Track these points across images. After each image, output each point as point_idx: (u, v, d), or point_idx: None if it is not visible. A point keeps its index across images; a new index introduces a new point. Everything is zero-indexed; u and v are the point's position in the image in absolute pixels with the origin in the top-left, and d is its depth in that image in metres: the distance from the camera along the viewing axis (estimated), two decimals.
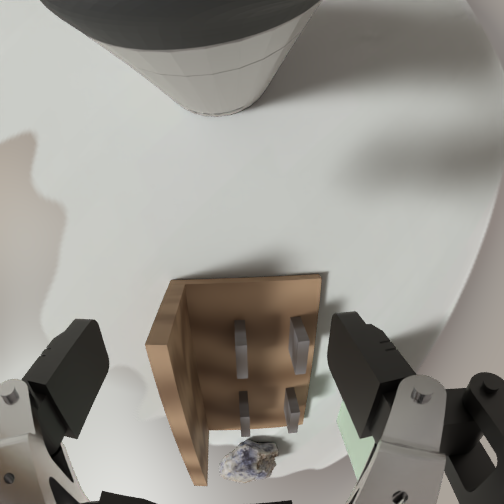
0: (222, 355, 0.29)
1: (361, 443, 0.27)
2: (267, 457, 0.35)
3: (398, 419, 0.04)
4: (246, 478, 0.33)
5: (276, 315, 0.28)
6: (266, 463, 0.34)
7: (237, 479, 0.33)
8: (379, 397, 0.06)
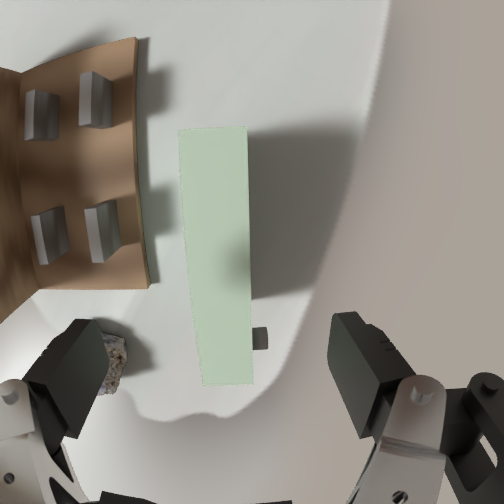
0: (39, 147, 0.20)
1: None
2: None
3: (398, 419, 0.04)
4: None
5: None
6: None
7: None
8: (379, 397, 0.06)
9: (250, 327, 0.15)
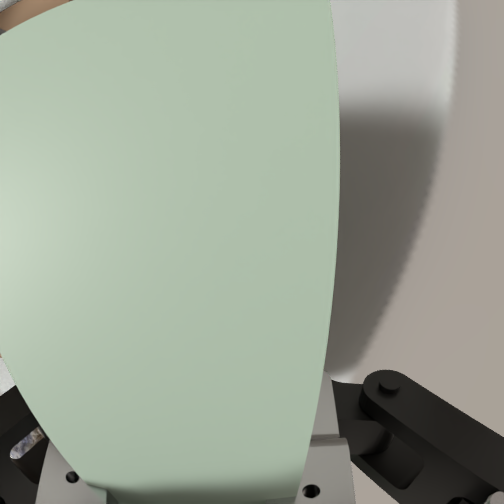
0: None
1: None
2: None
3: None
4: None
5: None
6: None
7: None
8: None
9: None
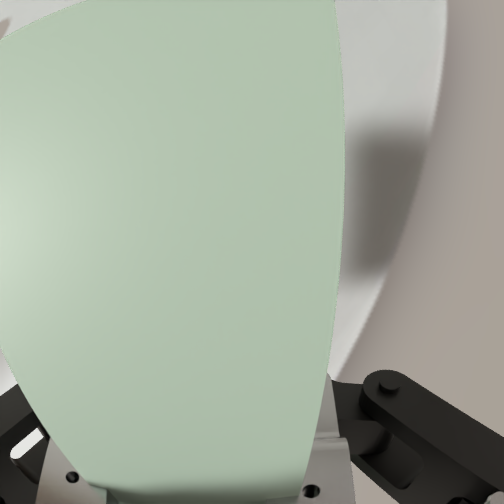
0: None
1: None
2: None
3: None
4: None
5: None
6: None
7: None
8: None
9: None
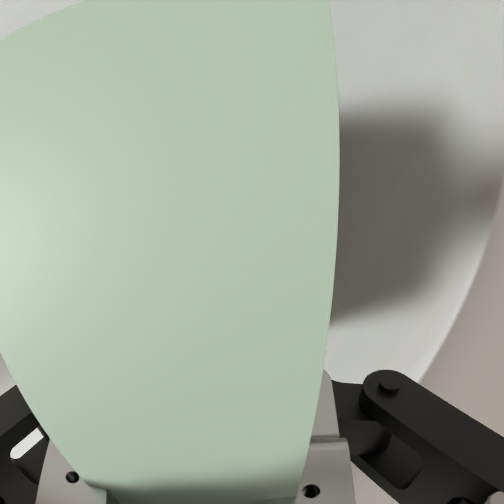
0: None
1: None
2: None
3: None
4: None
5: None
6: None
7: None
8: None
9: None
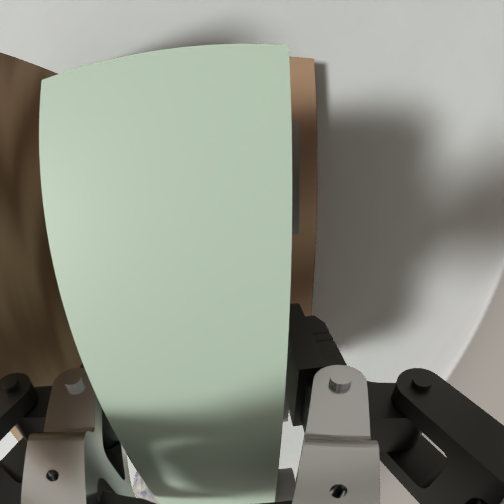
0: None
1: None
2: None
3: (319, 412, 0.05)
4: None
5: None
6: None
7: None
8: (302, 384, 0.07)
9: None
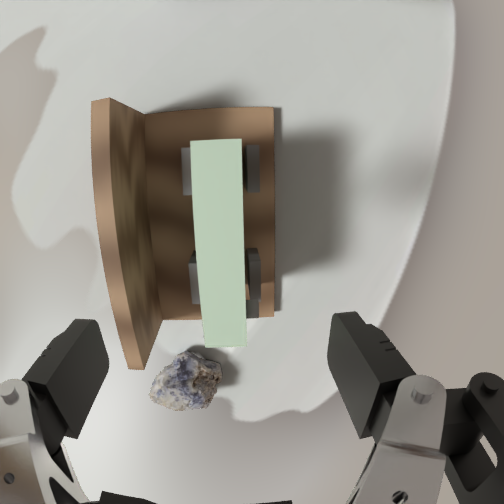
0: (175, 195, 0.28)
1: None
2: (207, 377, 0.33)
3: (398, 419, 0.04)
4: (178, 401, 0.31)
5: None
6: (204, 384, 0.32)
7: (167, 401, 0.31)
8: (379, 397, 0.06)
9: (244, 294, 0.19)
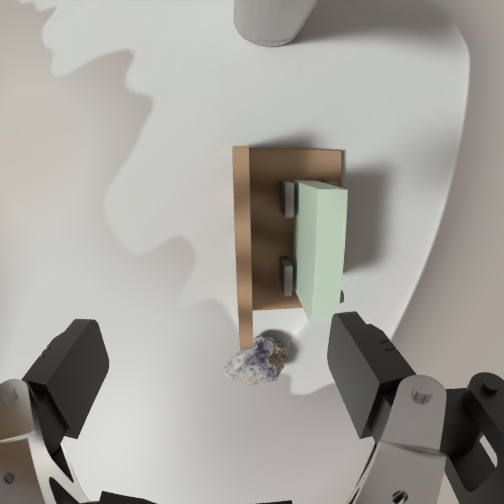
0: (268, 214, 0.38)
1: (306, 268, 0.32)
2: (278, 354, 0.43)
3: (398, 419, 0.04)
4: (255, 376, 0.41)
5: (311, 177, 0.37)
6: (276, 360, 0.42)
7: (246, 376, 0.41)
8: (379, 397, 0.06)
9: (340, 286, 0.29)
